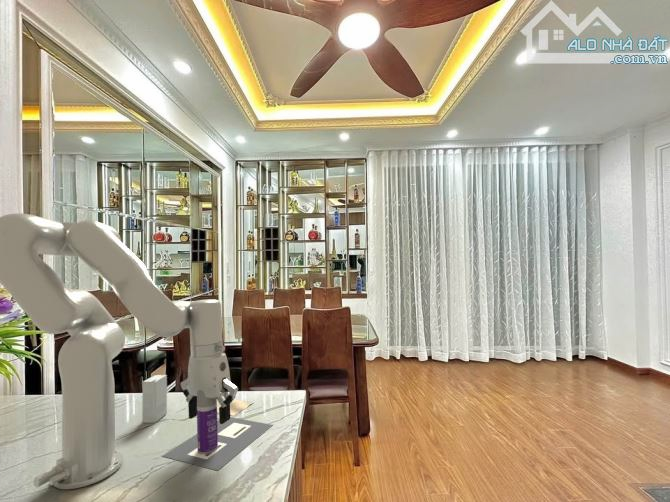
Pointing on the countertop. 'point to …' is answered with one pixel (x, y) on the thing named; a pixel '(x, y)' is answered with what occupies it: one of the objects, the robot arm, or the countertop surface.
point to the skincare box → (154, 398)
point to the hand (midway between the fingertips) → (209, 418)
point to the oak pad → (236, 407)
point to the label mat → (220, 444)
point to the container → (206, 424)
